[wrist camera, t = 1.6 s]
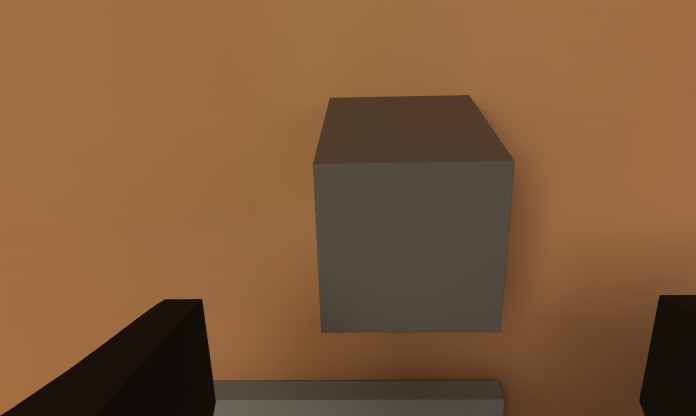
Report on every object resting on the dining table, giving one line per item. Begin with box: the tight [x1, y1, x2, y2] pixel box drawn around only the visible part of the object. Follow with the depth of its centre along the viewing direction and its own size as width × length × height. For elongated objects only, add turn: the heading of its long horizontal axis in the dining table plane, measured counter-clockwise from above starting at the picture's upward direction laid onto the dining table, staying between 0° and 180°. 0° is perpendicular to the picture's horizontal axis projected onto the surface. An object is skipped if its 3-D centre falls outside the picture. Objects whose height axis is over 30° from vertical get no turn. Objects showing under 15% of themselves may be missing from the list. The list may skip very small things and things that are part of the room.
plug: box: [313, 95, 514, 333], centre depth 16 cm, size 4×4×6 cm
